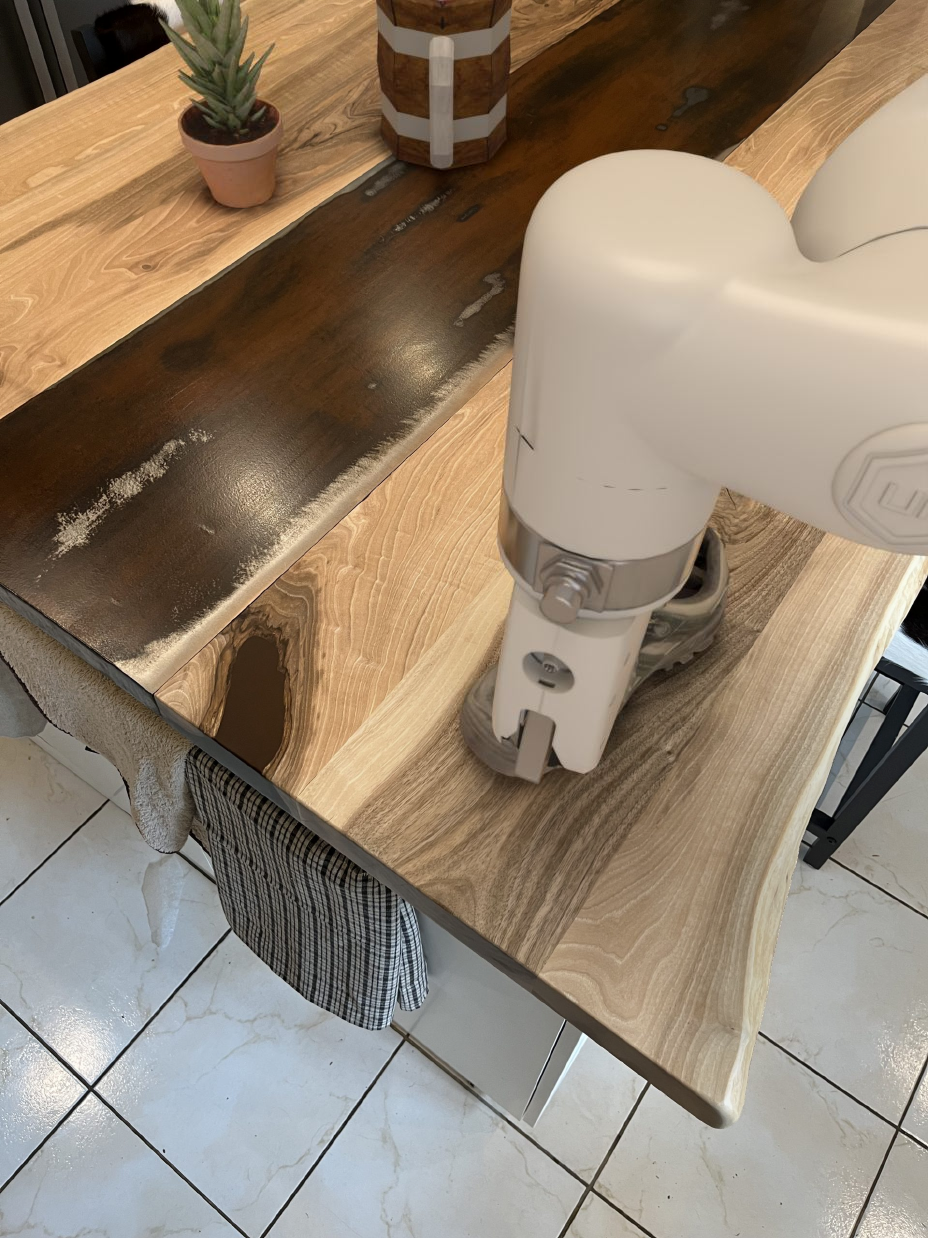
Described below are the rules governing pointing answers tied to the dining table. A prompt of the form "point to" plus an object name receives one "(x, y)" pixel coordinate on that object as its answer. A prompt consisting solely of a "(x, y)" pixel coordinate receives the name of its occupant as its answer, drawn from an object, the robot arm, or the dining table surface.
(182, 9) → the potted plant
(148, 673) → the dining table surface
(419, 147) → the mug
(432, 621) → the dining table surface
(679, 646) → the hiking shoe
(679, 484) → the robot arm
